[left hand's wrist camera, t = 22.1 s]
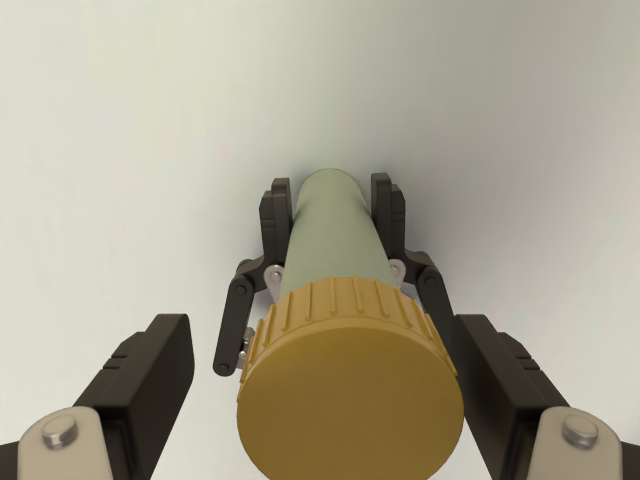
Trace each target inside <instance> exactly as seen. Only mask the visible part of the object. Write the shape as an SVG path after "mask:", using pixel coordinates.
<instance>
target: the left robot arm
mask: <svg viewBox="0 0 640 480" xmlns="http://www.w3.org/2000/svg"><path fill="white" fill-rule="evenodd" d="M448 355H449V357H450V359H451V361H452V363H453V365H454V367H455V369H456V371H457V374H458V376H455V377H456V379H457V381H458V384H459V387H460V390H461V392H462V397H463V402H464V416H465V419H466V421H467V423H468V425H469V428H470V430H471V432H472V435H473V437H474V439H475V441H476V444H477V446H478V448H479V450H480V453H481V455H482V457H483V460H484V462H485V464H486V466H487V469H488V471H489V473H490V476H491V478H492V480H640V446H638V445H634V444H629V443H626V442H622V441H620V439H619V437H618V436H617V434H616V433H615V432H614V431H613V430H612V429H611V428H610V427H609V426H608V425H607V424H606V423H604V422H603V421H602V420H600V419H599V418H597V417H595V416H593V415H591V414H589V413H587V412H585V411H582V410H579V409H576V408H571V407H570V405H569V404H568V403H567V402H566V400H565V399H564V398H563V396H562V395H561V394H560V393H559V391H558V390H557V389H556V387H555V386H554V385H553V384H552V382H551V381H550V380H549V378H548V377H547V376H546V375H545V373H544V372H543V371H542V370H540V367H539V366H538V364H537V363H536V362H535V361H534V359H532V358H531V355H530V354H529V353H528V352H527V350H526V349H525V348H524V347H523V345H522V344H521V343H520V342H518V341H517V340H515V339H514V338H512V337H511V336H509V335H508V334H506V333H505V332H497V331H496V330H495V328H494V327H493V325H492V324H491V323H490V321H489V320H488V318H487V317H486V316H485V315H483V314H457V315H455V317H454V319H453V324H452V332H451V339H450V347H449V354H448ZM194 367H195V362H194V353H193V345H192V338H191V330H190V322H189V318H188V316H187V314H158V315H157V316H156V317H155V318H154V320H153V321H152V323H151V324H150V325H149V327H148V328H147V330H146V331H145V332H136V333H135V334H134V335H132V336H131V337H129V338H128V339H126V340H125V341H123V342H122V343H121V344H120V345H119V347H118V348H117V349H116V350H115V352H114V353H113V354H112V356H111V358H109V359H108V361H107V362H106V363H105V365H104V366H103V369H102V370H100V371H99V372H98V374H97V375H96V376H95V378H94V379H93V380H92V381H91V383H90V384H89V385H88V387H87V388H86V389H85V390H84V392H83V393H82V394H81V396H80V397H79V398H78V399H77V401H76V402H75V403H74V405H73V406H72V407H69V408H64V409H61V410H58V411H55V412H53V413H51V414H49V415H47V416H45V417H43V418H41V419H40V420H38V421H37V422H36V423H34V424H33V425H32V426H31V427H30V428H29V429H28V430H27V431H26V432H25V433H24V434H23V436H22V437H21V439H20V441H17V442H13V443H8V444H4V445H0V480H150V479H151V476H152V474H153V472H154V469H155V467H156V465H157V462H158V460H159V458H160V456H161V453H162V451H163V449H164V446H165V444H166V442H167V439H168V437H169V435H170V432H171V430H172V428H173V425H174V423H175V421H176V418H177V416H178V414H179V412H180V409H181V407H182V405H183V402H184V400H185V398H186V395H187V393H188V391H189V388H190V386H191V384H192V381H193V376H194Z"/></svg>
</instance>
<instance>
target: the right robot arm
mask: <svg viewBox="0 0 640 480" xmlns="http://www.w3.org/2000/svg"><path fill="white" fill-rule="evenodd" d="M259 213H260V222H261V231H262V240H263V249H264V255H263V256H261V257H259V258H257V259H255V260H250V259H246V260H243V261H242V262H240V264H239V265H238V268H237V271H236V274H235V277H234V278H233V279H232V281H231V283H230V285H229V289H228V294H227V299H226V304H225V309H224V313H223V318H222V323H221V328H220V333H219V338H218V342H217V347H216V352H215V357H214V362H213V370H214V372H215V373H216V374H218V375H220V376H223V377H227V376H230V375H232V374H233V373H234V372H235V369H236V368H239V369H243V367H244V363H245V360H246V356H247V352H248V349H249V345H250V341H251V338H252V336H253V337H255V333H256V332H255V331H254V329H253V328H251V327H247V324H248V320H249V316H250V312H251V307H252V303H253V299H254V294H255V293H256V292H259V291H261V290H264V289H266V288H268V290H269V292H270V294H271V296H272V299H273V301H274V303H275V304H276V303H277V302H278V298H279V293H280V288H281V282H282V277H283V272H284V267H285V262H286V257H287V252H288V247H289V242H290V236H291V231H292V226H293V217H292V205H291V192H290V181H289V178H275V179H274V181H273V183H272V186H271V191H265V193H264V195H263V197H262V200H261V204H260V207H259ZM371 218H372V221H373V223H374V226H375V228H376V231H377V233H378V236H379V238H380V241H381V244H382V246H383V249H384V251H385V254H386V256H387V259H388V261H389V264H390V266H391V269H392V271H393V274H394V276H395V279H396V282H397V284H398V287H399V288H401V285H402V282H407V283H410V284H414V285H415V287H416V290H417V293H418V296H419V299H420V302H421V305H422V308H423V311H424V314H427V313H428V314H429V316H430V318H431V320H432V322H433V324H434V326H435V328H436V330H437V332H438V334H439V336H440V338H441V340H442V342H443V344H444V346H445V348H446V351H447V353H448V354H449V347H450V339H451V332H452V324H453V319H454V315H453V311H452V308H451V305H450V302H449V298H448V295H447V292H446V288H445V285H444V282H443V279H442V276H441V274H440V273H439V271H438V269H437V268H436V266H435V265H434V263H433V262H432V260H431V259H430V257H429V256H428V254H426V253H425V252H422V251H418V252H412V251H409V250H406V249H405V248H404V243H405V199H404V197H403V194H402V192H401V190H400V189H399V188H398V186H397V185H396V184H391V179H390V177H389V176H388V175H387V174H386V173H376V174H372V175H371Z"/></svg>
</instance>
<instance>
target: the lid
mask: <svg viewBox="0 0 640 480" xmlns="http://www.w3.org/2000/svg"><path fill="white" fill-rule="evenodd" d="M455 376H458V374H457V371H456V369H455V367H454V365H453V363H452V361H451V359H450V357H449V355H448V353H447V351H446V348H445V346H444V344H443V342H442V340H441V338H440V336H439V334H438V332H437V330H436V328H435V326H434V324H433V322H432V320H431V318H430V316H429V314H428V313H427V314H424V313H423V311H422V310H421V309H420V307H419V305H418V303H417V301H416V300H415V299H410V298H409V297H408V296H406V295H405V294H404V293H402V292H401V291H400V288H398V287H395V288H393V287H391V286H389V285H386V284H384V283H381V282H380V281H379V279H375V280H371V279H367V278H359V277H357V275H352V277H334V276H329V278H326V279H322V280H318V281H314V282H311V281H309V282H307V284H306V285H303V286H302V287H300V288H298V289H296V290H294V291H292V292H291V290H290V291H288V292H287V295H286V296H285V297H283V298H282V299H281V300H280V301H278V302H277V303H276V304H274V303H273V304H272V305H271V306H270V310H269V312H268V313H267V314H266V316H265V317H264V319H263V320H262V319H260V320H259V322H258V325H257V329H256V333H255V337H253V336H252V338H251V341H250V345H249V349H248V352H247V356H246V360H245V363H244V367H243V371H242V374H241V378H240V383H241V386H240V390H239V393H238V397H237V403H238V406H237V428H238V432H239V436H240V440H241V442H242V445H243V447H244V449H245V451H246V453H247V455H248V456H249V458H250V459H251V461H252V462H253V463H254V465H255V466H256V467H257V468H258V469H259V470H260V471H261V472H262V473H263V474H264V475H265V476H266V477H267V478H268V479H270V480H427V479H428V478H430V477H431V476H432V475H433V474H434V473H436V472H437V471H438V470H439V469H440V468H441V467H442V465H443V464H444V463H445V462H446V461H447V460H448V458H449V457H450V455H451V454H452V452H453V451H454V449H455V447H456V445H457V443H458V441H459V438H460V435H461V432H462V427H463V421H464V402H463V397H462V392H461V390H460V387H459V384H458V381H457V379H456V377H455Z"/></svg>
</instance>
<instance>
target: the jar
mask: <svg viewBox="0 0 640 480" xmlns="http://www.w3.org/2000/svg"><path fill="white" fill-rule="evenodd" d="M352 275H357V277H359V278H367V279H371V280H375V279H379V281H380V282H381V283H384V284H386V285H389V286H391V287H393V288H395V287H398V284H397V282H396V279H395V276H394V274H393V271H392V269H391V266H390V264H389V261H388V259H387V256H386V254H385V251H384V249H383V246H382V244H381V241H380V238H379V236H378V233H377V231H376V228H375V226H374V223H373V221H372V218H371V216H370V213H369V211H368V208H367V205H366V203H365V200H364V198H363V195H362V193H361V190H360V188H359V186H358V184H357V182H356V181H355V180H354V179H353V178H352V177H351V176H350V175H349V174H347V173H345V172H343V171H341V170H337V169H324V170H320V171H317V172H315V173H313V174H312V175H311V176H309V177H308V178H307V179H306V180H305V182H304V183H303V185H302V186H301V189H300V191H299V195H298V201H297V206H296V211H295V216H294V221H293V226H292V231H291V236H290V242H289V247H288V252H287V257H286V262H285V267H284V272H283V277H282V282H281V288H280V293H279V298H278V301H280V300H281V299H282V298H283V297H285V296H286V295H287V292H288V291H290V290H291V292H292V291H294V290H296V289H298V288H300V287H302V286H303V285H306V284H307V282H309V281H311V282H314V281H318V280H322V279H326V278H329V276H334V277H352ZM398 288H399V287H398Z"/></svg>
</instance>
